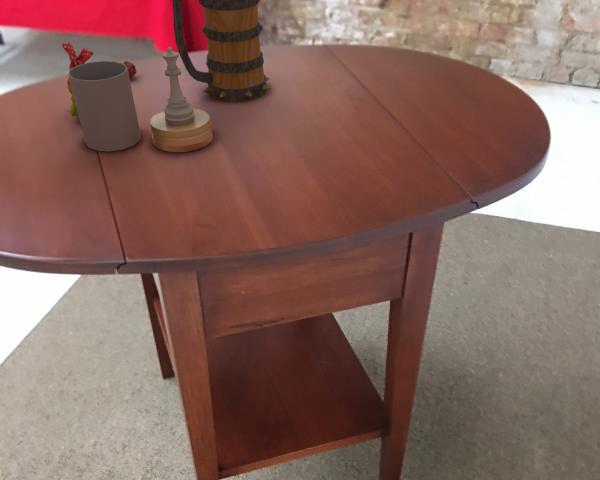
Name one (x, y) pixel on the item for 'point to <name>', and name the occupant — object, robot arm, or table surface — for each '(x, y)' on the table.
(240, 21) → the mug
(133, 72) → the die
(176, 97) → the chess piece
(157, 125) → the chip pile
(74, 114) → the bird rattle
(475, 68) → the table surface
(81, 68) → the cup
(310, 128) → the table surface
